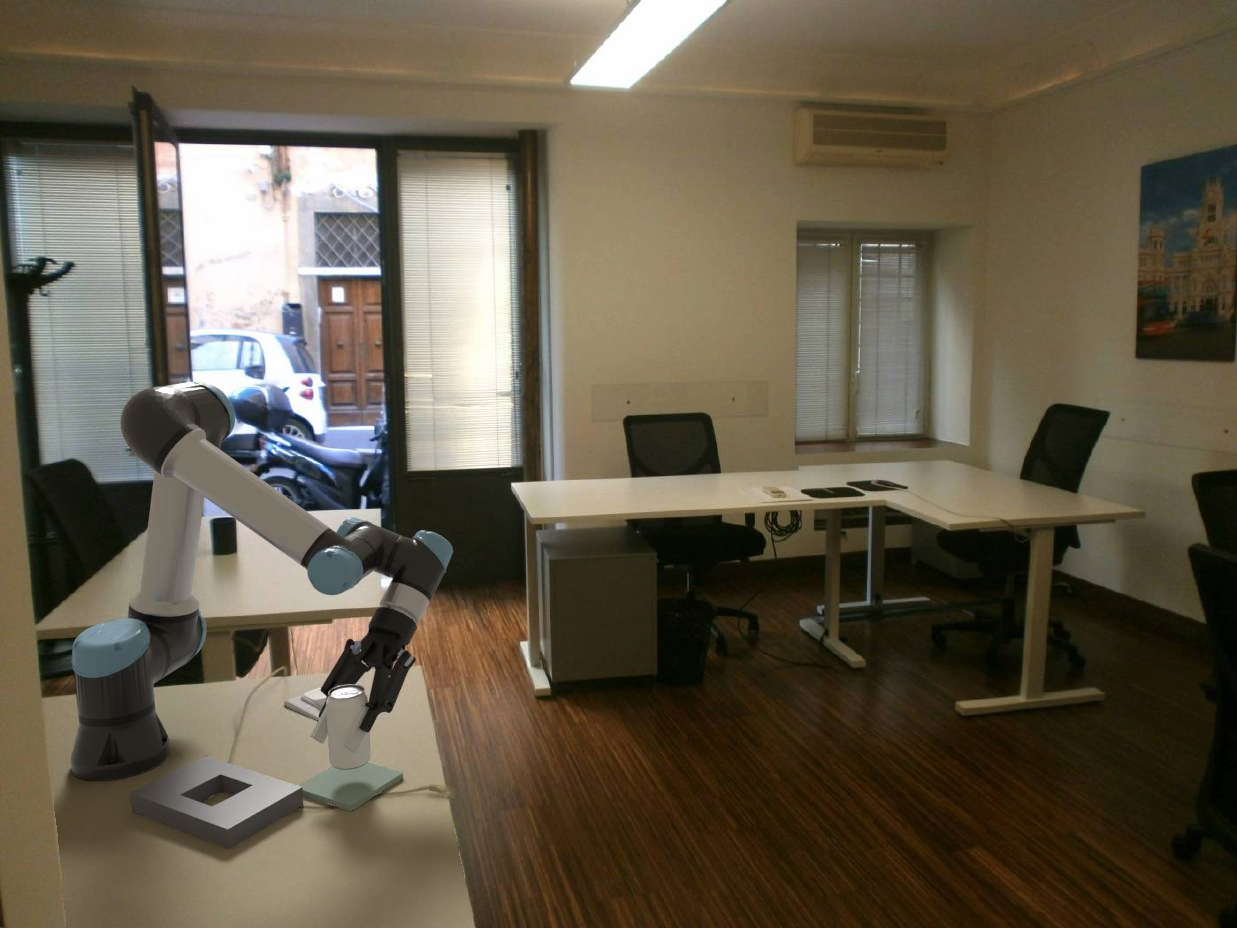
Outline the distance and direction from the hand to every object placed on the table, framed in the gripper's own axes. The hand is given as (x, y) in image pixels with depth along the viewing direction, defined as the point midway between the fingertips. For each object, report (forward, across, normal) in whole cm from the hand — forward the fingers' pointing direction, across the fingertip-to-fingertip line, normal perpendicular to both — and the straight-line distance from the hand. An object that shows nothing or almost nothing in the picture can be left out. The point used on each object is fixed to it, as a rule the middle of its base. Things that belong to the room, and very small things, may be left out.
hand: (333, 744), depth 153 cm
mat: (+4, 0, -8) cm, 9 cm away
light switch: (-11, +28, -24) cm, 39 cm away
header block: (+14, +13, +2) cm, 20 cm away
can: (+1, 0, -6) cm, 6 cm away
